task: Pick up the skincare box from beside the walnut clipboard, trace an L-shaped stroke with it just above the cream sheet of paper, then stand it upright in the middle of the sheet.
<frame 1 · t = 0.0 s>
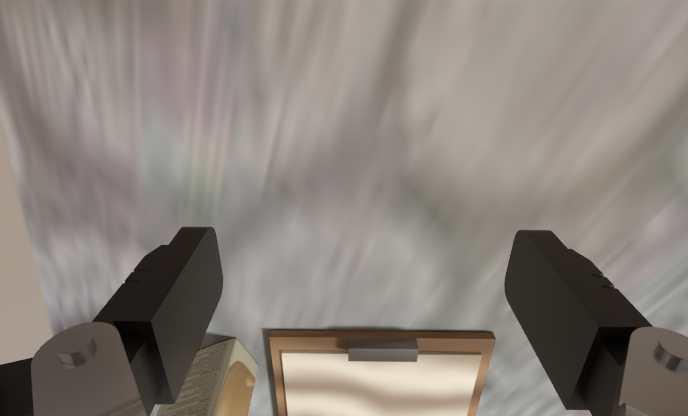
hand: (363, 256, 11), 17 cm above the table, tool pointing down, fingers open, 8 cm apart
clipboard: (378, 382, 39), on the table
skincare box: (222, 358, 38), on the table
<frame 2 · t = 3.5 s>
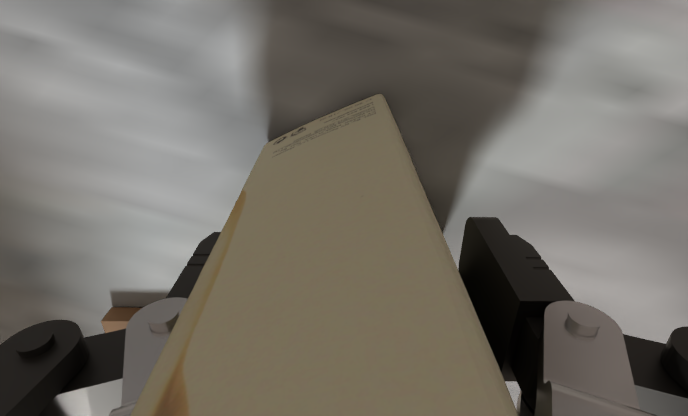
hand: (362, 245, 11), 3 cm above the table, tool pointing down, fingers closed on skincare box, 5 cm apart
skincare box: (359, 196, 14), on the table, touching gripper
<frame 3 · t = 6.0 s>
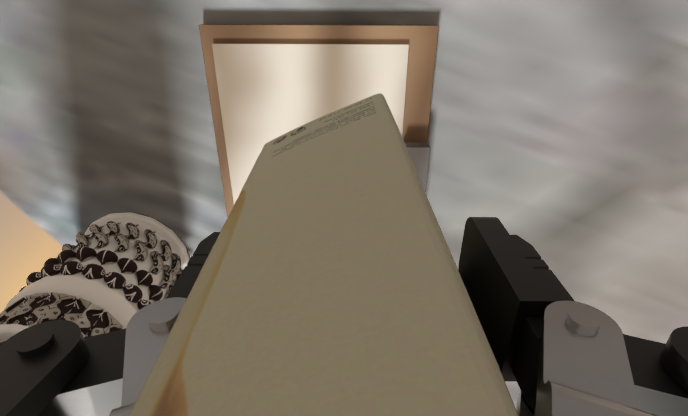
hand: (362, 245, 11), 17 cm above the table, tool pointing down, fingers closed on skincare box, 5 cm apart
clipboard: (322, 178, 29), on the table
skincare box: (359, 196, 14), point 14 cm above the table, touching gripper
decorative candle: (137, 256, 32), on the table
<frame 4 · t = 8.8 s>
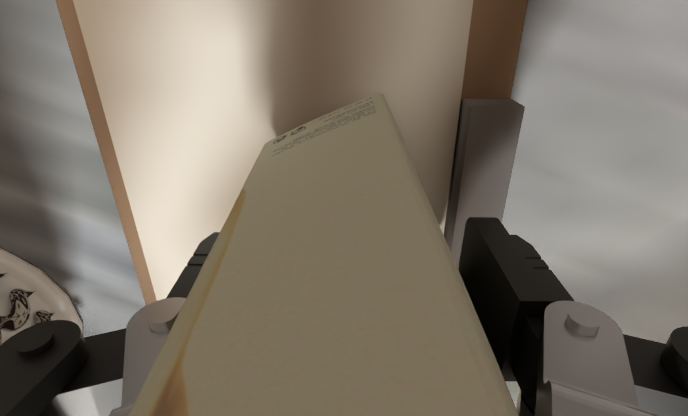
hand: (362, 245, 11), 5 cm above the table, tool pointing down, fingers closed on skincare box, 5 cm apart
clipboard: (303, 174, 15), on the table
skincare box: (359, 195, 14), point 1 cm above the table, touching gripper
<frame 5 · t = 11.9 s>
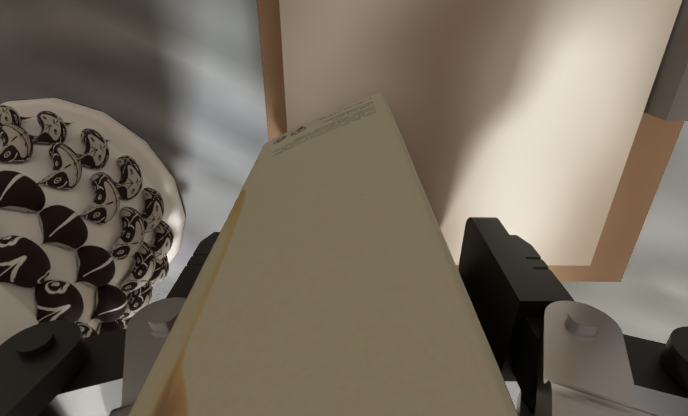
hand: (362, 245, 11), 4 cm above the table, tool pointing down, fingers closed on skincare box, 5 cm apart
clipboard: (484, 8, 13), on the table
skincare box: (359, 196, 14), point 1 cm above the table, touching gripper
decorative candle: (79, 202, 16), on the table
when the fingers open (5 cm above the table, at t = 14.4 s): skincare box drops 1 cm, resting on clipboard.
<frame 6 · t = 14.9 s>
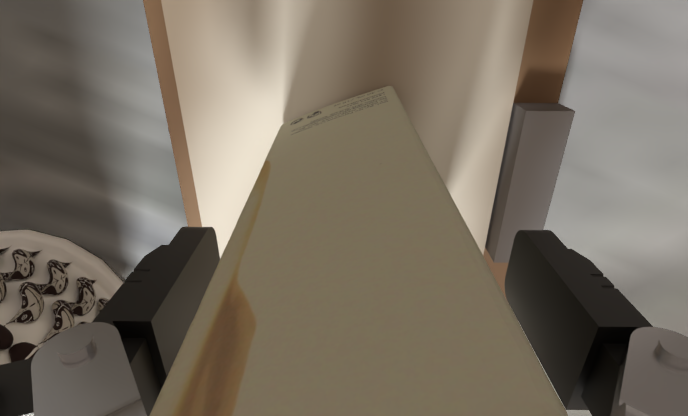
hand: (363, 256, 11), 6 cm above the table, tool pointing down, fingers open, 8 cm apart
clipboard: (357, 172, 16), on the table
skincare box: (363, 180, 15), point 1 cm above the table, touching clipboard
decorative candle: (50, 300, 20), on the table
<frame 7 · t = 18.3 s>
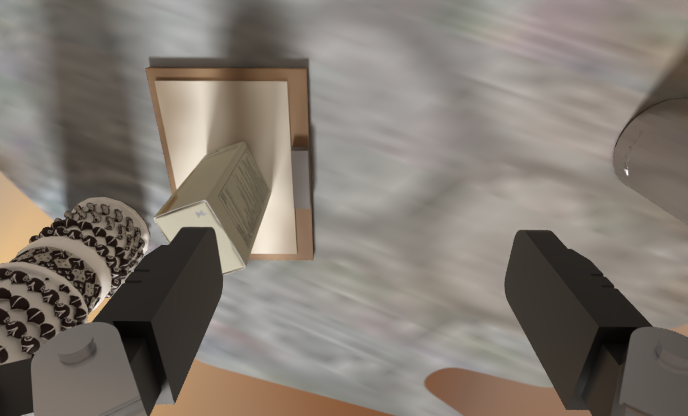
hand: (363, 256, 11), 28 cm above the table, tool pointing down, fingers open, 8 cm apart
clipboard: (240, 172, 40), on the table
skincare box: (240, 175, 39), point 1 cm above the table, touching clipboard
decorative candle: (111, 230, 43), on the table
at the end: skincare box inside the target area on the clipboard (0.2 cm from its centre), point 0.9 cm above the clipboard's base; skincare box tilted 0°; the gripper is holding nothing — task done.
